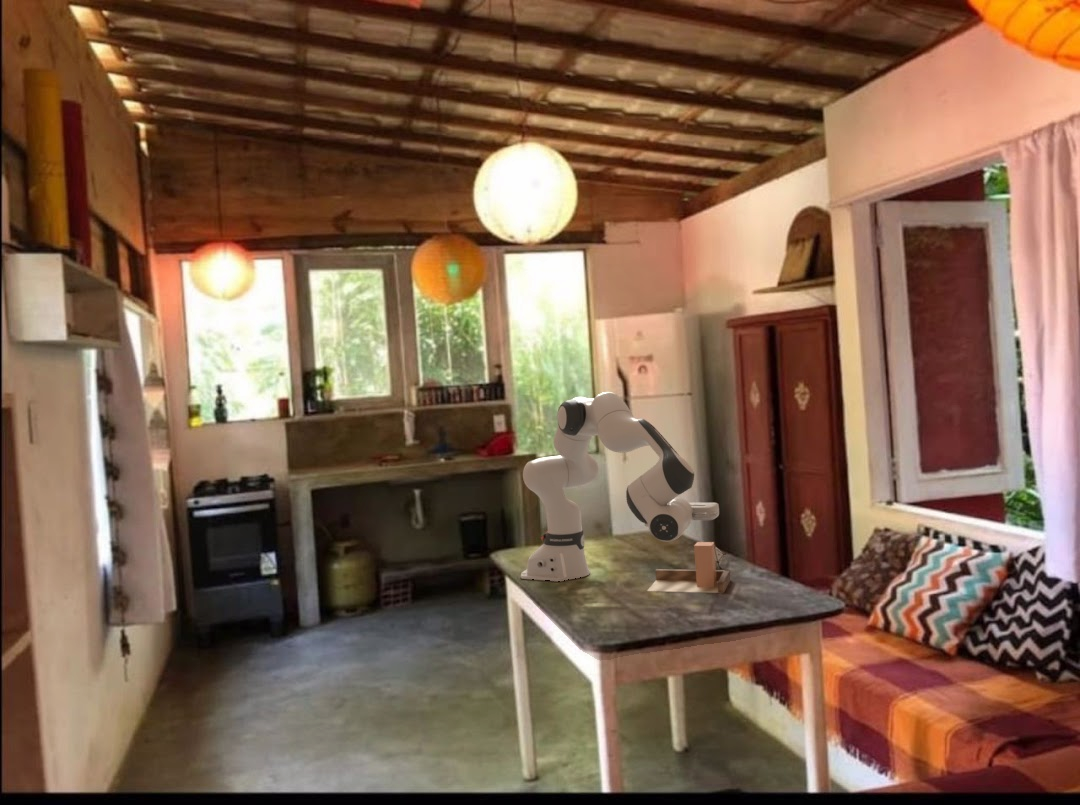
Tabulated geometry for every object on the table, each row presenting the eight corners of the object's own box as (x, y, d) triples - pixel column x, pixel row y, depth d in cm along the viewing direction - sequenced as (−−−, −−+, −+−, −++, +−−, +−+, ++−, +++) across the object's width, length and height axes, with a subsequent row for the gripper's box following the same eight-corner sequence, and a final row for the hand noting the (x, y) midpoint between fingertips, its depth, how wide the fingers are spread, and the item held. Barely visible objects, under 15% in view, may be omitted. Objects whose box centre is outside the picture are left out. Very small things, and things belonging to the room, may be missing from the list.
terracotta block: (696, 586, 246) (694, 545, 246) (699, 582, 251) (697, 542, 251) (714, 587, 245) (711, 545, 244) (716, 582, 249) (714, 542, 249)
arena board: (647, 594, 245) (646, 580, 245) (657, 582, 258) (656, 569, 258) (723, 596, 238) (723, 582, 238) (730, 583, 251) (729, 570, 251)
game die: (717, 581, 268) (726, 560, 262) (691, 572, 270) (699, 551, 264) (722, 562, 275) (730, 541, 269) (696, 553, 277) (704, 532, 271)
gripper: (715, 503, 219) (722, 494, 232) (637, 502, 226) (649, 493, 239) (716, 527, 220) (723, 516, 233) (639, 526, 227) (650, 516, 240)
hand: (685, 505), depth 236 cm, fingers open, 8 cm apart
